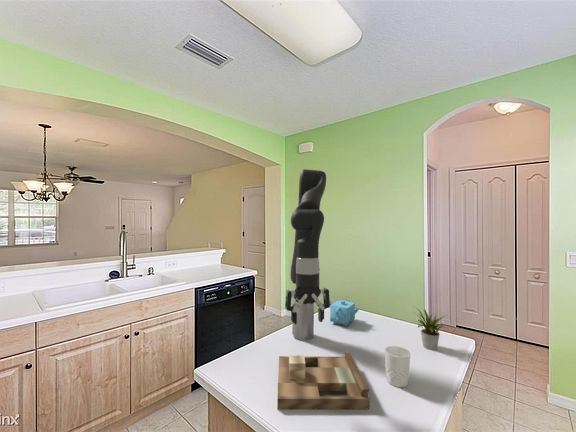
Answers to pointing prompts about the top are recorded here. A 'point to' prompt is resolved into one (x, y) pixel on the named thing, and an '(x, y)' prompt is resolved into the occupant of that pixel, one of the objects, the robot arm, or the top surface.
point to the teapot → (342, 312)
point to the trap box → (323, 385)
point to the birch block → (296, 367)
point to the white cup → (397, 365)
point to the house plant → (429, 331)
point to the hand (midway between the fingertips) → (307, 322)
